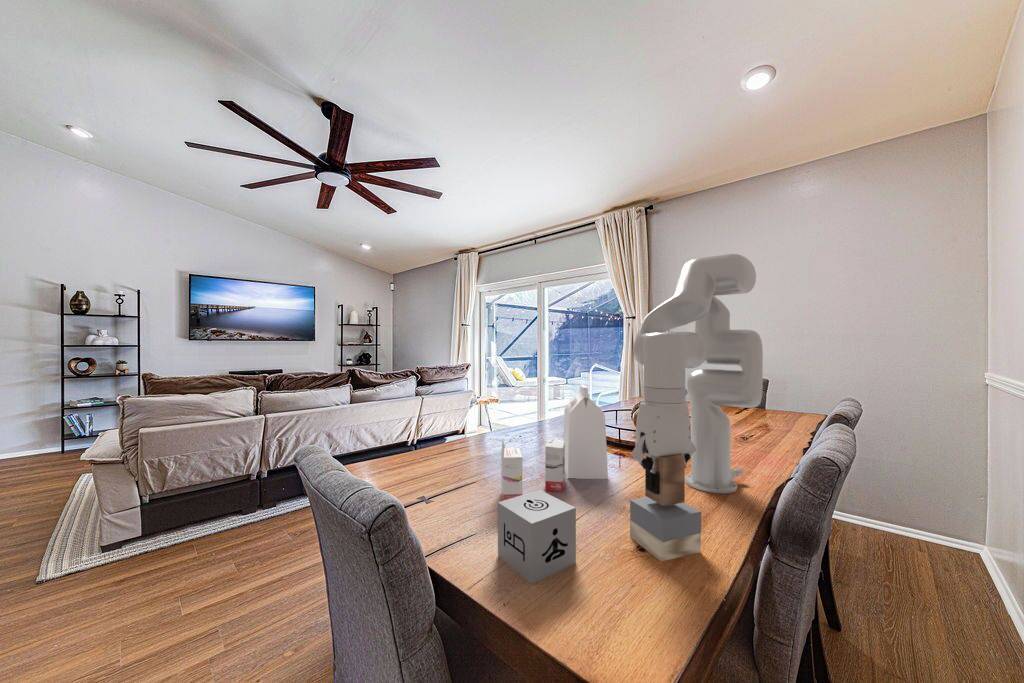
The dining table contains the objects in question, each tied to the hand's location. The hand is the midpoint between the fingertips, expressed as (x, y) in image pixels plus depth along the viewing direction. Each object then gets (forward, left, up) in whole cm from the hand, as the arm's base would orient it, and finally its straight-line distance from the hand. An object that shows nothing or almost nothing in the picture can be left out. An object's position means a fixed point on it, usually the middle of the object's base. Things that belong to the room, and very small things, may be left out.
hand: (664, 488), depth 73 cm
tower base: (0, 0, -11) cm, 11 cm away
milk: (-6, -41, -11) cm, 43 cm away
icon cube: (+26, -3, -11) cm, 28 cm away
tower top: (0, 0, -7) cm, 7 cm away
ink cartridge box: (+21, -30, -11) cm, 38 cm away
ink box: (+7, -34, -11) cm, 36 cm away
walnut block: (0, 0, -2) cm, 2 cm away
